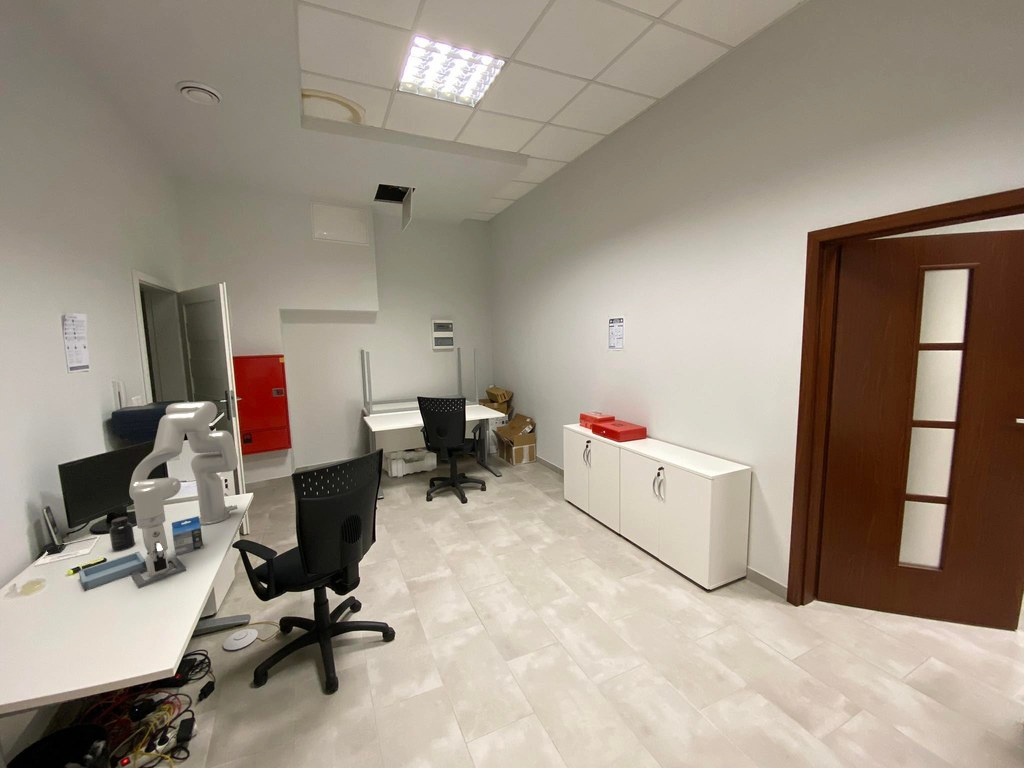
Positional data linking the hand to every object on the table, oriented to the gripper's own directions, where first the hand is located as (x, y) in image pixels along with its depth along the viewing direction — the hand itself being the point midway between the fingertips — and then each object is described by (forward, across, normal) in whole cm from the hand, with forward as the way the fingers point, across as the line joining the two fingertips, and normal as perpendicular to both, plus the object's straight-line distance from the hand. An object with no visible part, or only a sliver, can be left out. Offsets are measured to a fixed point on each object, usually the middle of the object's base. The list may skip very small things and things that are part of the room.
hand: (157, 565), depth 146 cm
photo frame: (+4, +52, +18) cm, 55 cm away
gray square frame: (+3, 0, 0) cm, 3 cm away
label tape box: (+3, +11, -12) cm, 16 cm away
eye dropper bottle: (+3, 0, 0) cm, 3 cm away
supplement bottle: (+3, +37, +4) cm, 37 cm away
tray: (+3, +13, +10) cm, 17 cm away
